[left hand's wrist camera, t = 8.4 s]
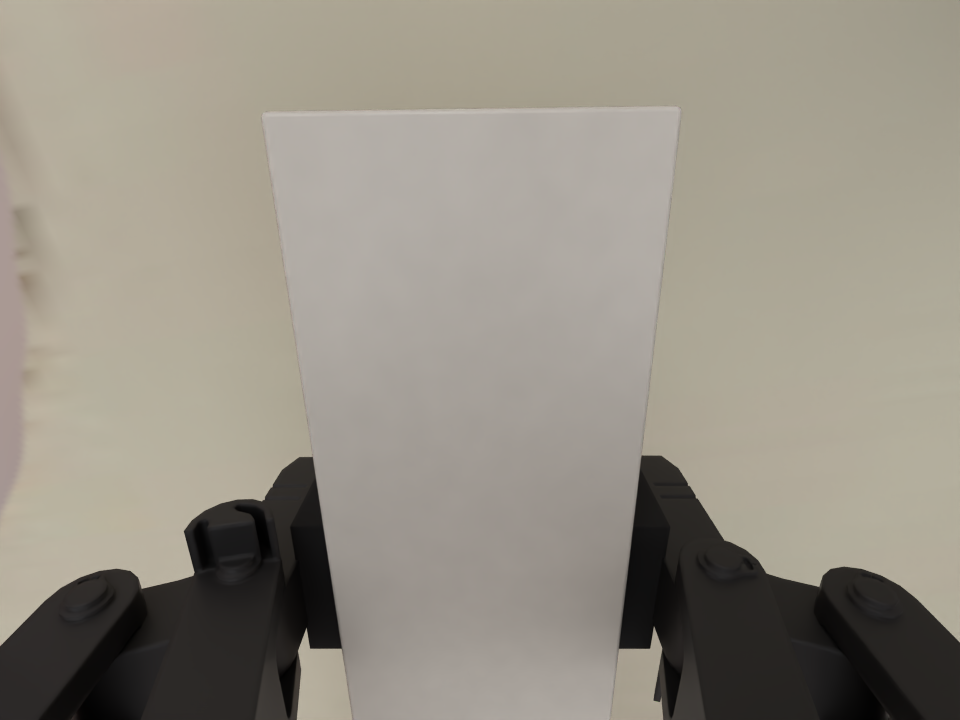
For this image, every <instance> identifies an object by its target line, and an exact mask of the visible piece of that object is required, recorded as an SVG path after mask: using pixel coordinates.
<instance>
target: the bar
mask: <svg viewBox="0 0 960 720" xmlns="http://www.w3.org/2000/svg"><path fill="white" fill-rule="evenodd" d="M681 114H682V112H681V108H680V107H678V106H613V107H540V108H467V109H394V110H321V111H266V112H264V113H262V117H261V120H262V126H263V133H264V139H265V146H266V152H267V159H268V166H269V172H270V179H271V185H272V192H273V198H274V205H275V212H276V218H277V225H278V231H279V238H280V244H281V251H282V258H283V264H284V271H285V277H286V284H287V291H288V297H289V304H290V310H291V317H292V323H293V330H294V337H295V343H296V350H297V356H298V363H299V369H300V376H301V383H302V389H303V396H304V402H305V409H306V416H307V422H308V429H309V435H310V442H311V448H312V455H313V462H314V468H315V475H316V481H317V488H318V494H319V501H320V508H321V514H322V521H323V527H324V534H325V540H326V547H327V554H328V560H329V567H330V573H331V580H332V587H333V593H334V600H335V606H336V613H337V619H338V626H339V633H340V639H341V646H342V652H343V659H344V665H345V672H346V679H347V685H348V692H349V698H350V705H351V712H352V718H353V720H610V719H611V710H612V702H613V693H614V685H615V676H616V668H617V659H618V651H619V642H620V634H621V625H622V617H623V608H624V600H625V591H626V583H627V574H628V566H629V557H630V548H631V540H632V531H633V523H634V514H635V506H636V497H637V489H638V480H639V472H640V463H641V455H642V446H643V438H644V429H645V421H646V412H647V404H648V395H649V387H650V378H651V369H652V361H653V352H654V344H655V335H656V327H657V318H658V310H659V301H660V293H661V284H662V276H663V267H664V259H665V250H666V242H667V233H668V225H669V216H670V207H671V199H672V190H673V182H674V173H675V165H676V156H677V148H678V139H679V131H680V122H681Z"/></svg>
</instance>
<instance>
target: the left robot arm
mask: <svg viewBox="0 0 960 720" xmlns="http://www.w3.org/2000/svg"><path fill="white" fill-rule="evenodd" d="M695 496H696V495H695V494H694V492H693V491H692V489H691V488H690V486H688V483H687V481H686V480H685V478H684V477H683V475H682V473H681V472H680V470H679V469H678V468H677V467H676V466H674V465H673V464H672V463H670V462H669V461H668V460H666V459H665V458H664V457H662V456H641V463H640V472H639V480H638V489H637V497H636V506H635V514H634V523H633V531H632V540H631V548H630V557H629V566H628V574H627V583H626V591H625V600H624V608H623V617H622V625H621V634H620V642H619V649H650V646H651V640H652V634H653V628H654V627H655V630H656V632H657V635H658V638H659V640H660V643H661V646H662V648H663V649H662V654H661V660H660V665H659V671H658V677H657V682H656V688H655V694H654V701H658V702H660V700H661V698H662V709H663V720H960V642H959V641H958V640H957V639H956V638H955V637H954V636H953V635H952V634H951V633H950V632H949V631H948V630H947V629H946V628H945V627H944V626H943V625H942V624H941V623H940V622H939V621H938V620H937V619H936V618H935V617H934V616H933V615H932V614H931V613H930V612H929V611H928V610H927V609H926V608H925V607H924V606H923V605H922V604H921V603H920V602H919V601H918V600H917V599H916V598H915V597H913V596H912V595H911V594H910V593H908V592H907V591H906V590H905V589H903V588H902V587H901V586H899V585H898V584H896V583H894V582H892V581H890V580H888V579H887V578H885V577H883V576H881V575H878V574H875V573H872V572H869V571H866V570H863V569H858V568H850V567H840V568H834V569H830V570H829V571H828V572H827V573H826V574H824V575H823V577H822V580H821V584H820V587H817V586H812V585H808V584H804V583H799V582H795V581H791V580H787V579H782V578H779V577H776V576H772V575H769V574H766V572H765V571H764V569H763V567H762V566H761V564H760V563H759V561H758V560H757V559H756V558H755V557H753V556H752V555H751V554H750V553H749V552H747V551H746V550H745V549H743V548H741V547H739V546H737V545H735V544H733V543H731V542H727V541H724V539H723V538H722V536H721V535H720V533H719V531H718V530H717V528H716V527H715V525H714V524H713V522H712V520H711V519H710V517H709V516H708V514H707V513H706V511H705V509H704V508H703V506H702V505H701V503H700V502H699V500H698V499H696V497H695ZM184 533H185V537H186V541H187V545H188V549H189V553H190V556H191V560H192V564H193V568H194V572H195V573H194V576H192V577H188V578H185V579H182V580H178V581H174V582H170V583H165V584H161V585H157V586H153V587H148V588H144V589H141V585H140V582H139V579H138V577H137V576H135V575H134V574H133V573H132V572H131V571H127V570H121V569H112V570H104V571H98V572H95V573H92V574H89V575H86V576H84V577H81V578H79V579H77V580H75V581H73V582H71V583H69V584H68V585H66V586H64V587H62V588H60V589H59V590H58V591H57V592H55V593H54V594H53V595H52V596H51V597H49V598H48V599H47V600H46V601H44V602H43V604H42V605H41V606H40V607H39V608H38V609H37V610H36V611H35V612H34V613H33V614H32V615H31V616H30V617H29V618H28V619H27V620H26V621H25V622H24V623H23V624H22V625H21V626H20V627H19V628H18V629H17V630H16V631H15V632H14V633H13V634H12V635H11V636H10V637H9V638H8V639H7V640H6V641H5V642H4V643H3V644H2V645H1V646H0V720H297V710H298V699H299V688H300V677H301V667H300V660H299V654H298V649H299V646H300V644H301V641H302V638H303V636H304V633H305V630H306V628H307V632H308V638H309V644H310V649H342V646H341V639H340V633H339V626H338V619H337V613H336V606H335V600H334V593H333V587H332V580H331V573H330V567H329V560H328V554H327V547H326V540H325V534H324V527H323V521H322V514H321V508H320V501H319V494H318V488H317V481H316V475H315V468H314V462H313V457H299V458H298V459H296V460H295V461H294V462H292V463H291V464H290V465H288V466H287V467H286V468H284V469H283V470H282V471H281V473H280V474H279V476H278V477H277V479H276V481H275V482H274V484H273V488H271V489H270V490H269V492H268V493H267V495H266V496H265V500H263V501H262V502H261V501H258V500H254V499H244V500H234V501H230V502H226V503H221V504H219V505H217V506H215V507H212V508H210V509H208V510H206V511H204V512H203V513H201V514H200V515H199V516H197V517H196V518H195V519H193V520H192V521H191V522H190V524H189V525H188V526H187V528H186V529H185V531H184Z"/></svg>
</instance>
